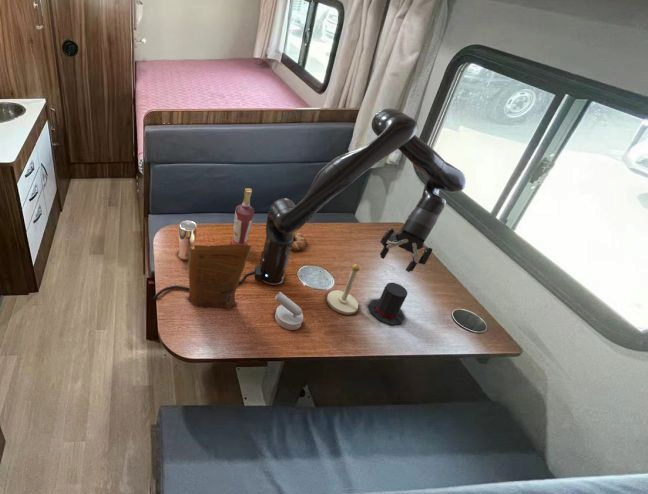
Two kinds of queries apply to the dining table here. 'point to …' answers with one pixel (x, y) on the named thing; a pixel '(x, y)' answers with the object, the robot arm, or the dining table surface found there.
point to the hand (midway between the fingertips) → (394, 264)
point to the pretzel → (298, 241)
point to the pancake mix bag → (216, 273)
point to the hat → (389, 305)
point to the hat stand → (344, 296)
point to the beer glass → (186, 238)
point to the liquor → (243, 220)
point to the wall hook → (288, 313)
